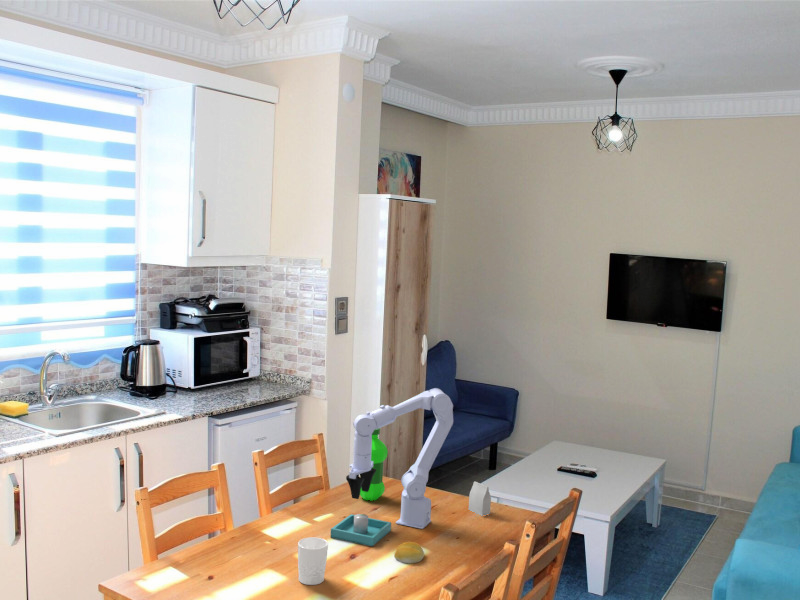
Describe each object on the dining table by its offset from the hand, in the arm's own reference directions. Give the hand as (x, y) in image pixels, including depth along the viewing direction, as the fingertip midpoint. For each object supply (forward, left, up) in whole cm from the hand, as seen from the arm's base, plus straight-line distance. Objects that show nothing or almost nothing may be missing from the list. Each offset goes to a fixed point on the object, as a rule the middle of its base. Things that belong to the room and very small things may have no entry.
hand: (360, 494), depth 241 cm
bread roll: (-23, +16, -10) cm, 30 cm away
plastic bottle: (+7, -23, -10) cm, 26 cm away
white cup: (-6, +42, -10) cm, 44 cm away
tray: (-4, +8, -9) cm, 13 cm away
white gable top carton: (-31, -29, -10) cm, 44 cm away
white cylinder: (-4, +8, -9) cm, 12 cm away
